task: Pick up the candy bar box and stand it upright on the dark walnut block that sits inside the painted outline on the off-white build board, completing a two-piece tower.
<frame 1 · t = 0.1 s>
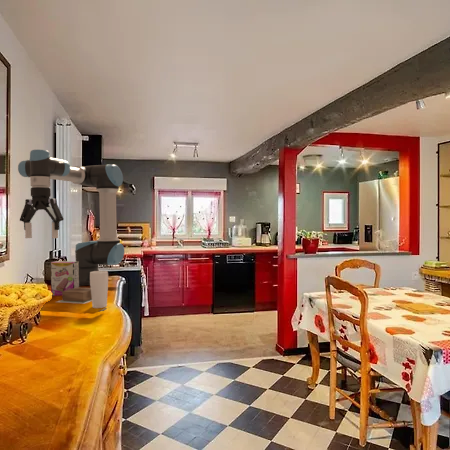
hand: (41, 238, 161), 28 cm above the sideboard top, tool pointing down, fingers open, 13 cm apart
build board: (80, 302, 164), on the sideboard top
drinking glass: (99, 310, 150), on the sideboard top
candy bar box: (65, 298, 175), on the sideboard top
walnut block: (80, 299, 164), point 1 cm above the sideboard top, touching build board
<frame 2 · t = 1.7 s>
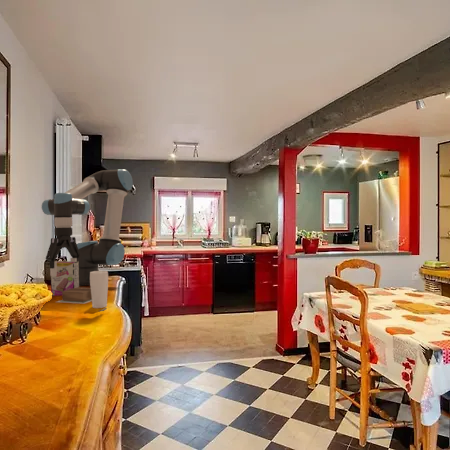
hand: (64, 273, 175), 11 cm above the sideboard top, tool pointing down, fingers open, 13 cm apart
nothing on the sideboard top moved.
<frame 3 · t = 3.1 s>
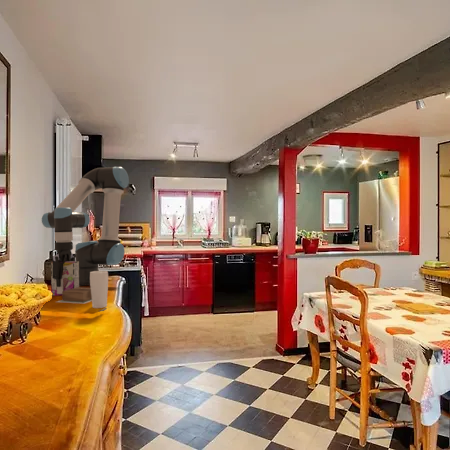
hand: (64, 292, 176), 2 cm above the sideboard top, tool pointing down, fingers closed on candy bar box, 5 cm apart
candy bar box: (65, 297, 175), on the sideboard top, touching gripper
everything else where it was.
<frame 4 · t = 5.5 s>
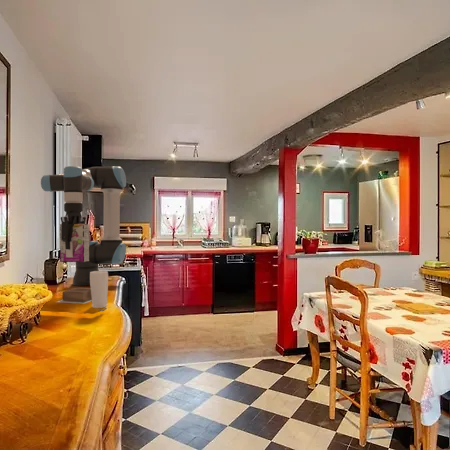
hand: (74, 256, 166), 20 cm above the sideboard top, tool pointing down, fingers closed on candy bar box, 5 cm apart
candy bar box: (74, 262, 166), point 17 cm above the sideboard top, touching gripper
everything else where it was.
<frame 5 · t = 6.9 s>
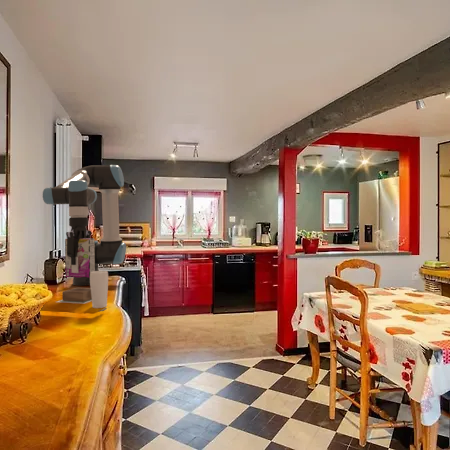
hand: (79, 271, 164), 13 cm above the sideboard top, tool pointing down, fingers closed on candy bar box, 5 cm apart
candy bar box: (80, 277, 164), point 11 cm above the sideboard top, touching gripper
everything else where it was.
when the fingers open (9 cm above the sideboard top, at t = 8.0 s): candy bar box stays where it is, resting on walnut block.
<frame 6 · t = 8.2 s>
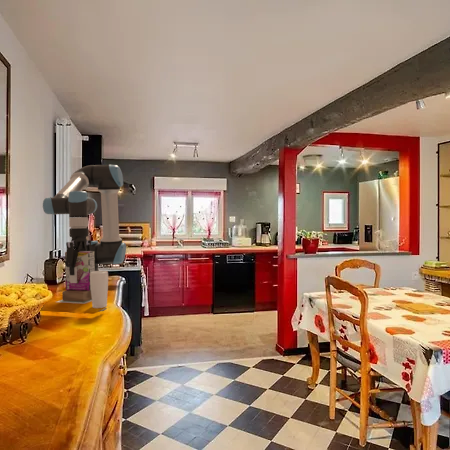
hand: (80, 281, 164), 9 cm above the sideboard top, tool pointing down, fingers open, 8 cm apart
candy bar box: (80, 290, 164), point 5 cm above the sideboard top, touching walnut block
walnut block: (80, 299, 164), point 1 cm above the sideboard top, touching build board, candy bar box
everything else where it was.
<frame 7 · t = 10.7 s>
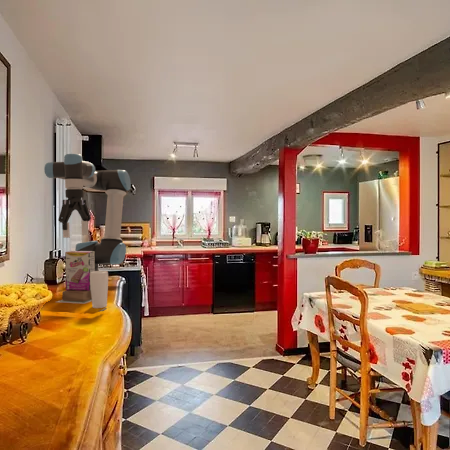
hand: (76, 236, 174), 28 cm above the sideboard top, tool pointing down, fingers open, 13 cm apart
nothing on the sideboard top moved.
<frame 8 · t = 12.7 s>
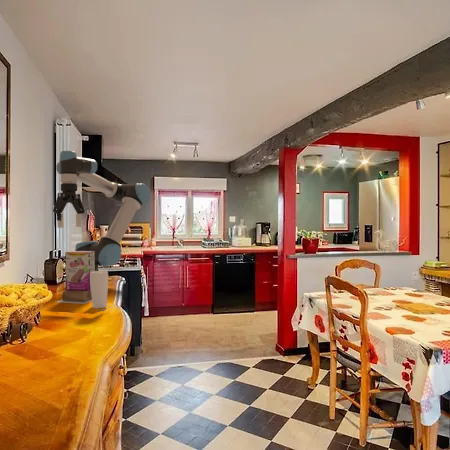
hand: (70, 227, 187), 32 cm above the sideboard top, tool pointing down, fingers open, 13 cm apart
nothing on the sideboard top moved.
at the end: candy bar box inside the target area on the walnut block (0.2 cm from its centre), point 3.8 cm above the walnut block's base; candy bar box tilted 0°; candy bar box touching walnut block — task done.
